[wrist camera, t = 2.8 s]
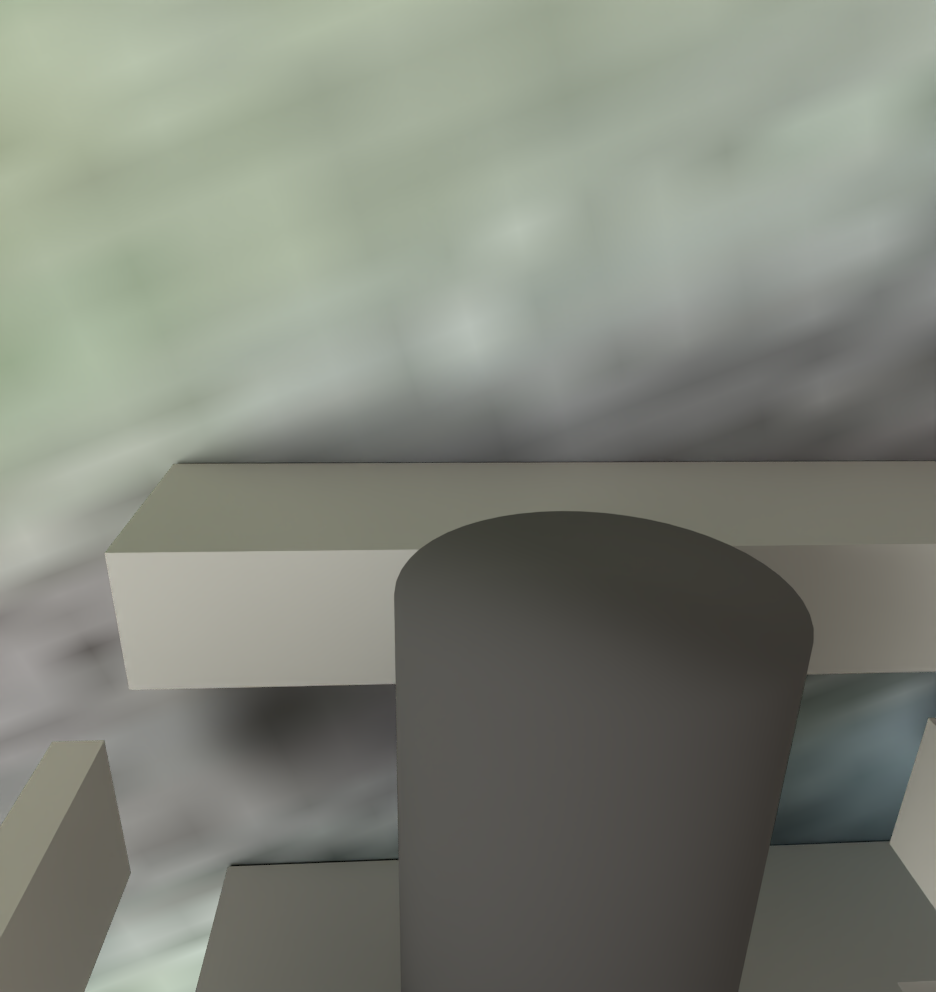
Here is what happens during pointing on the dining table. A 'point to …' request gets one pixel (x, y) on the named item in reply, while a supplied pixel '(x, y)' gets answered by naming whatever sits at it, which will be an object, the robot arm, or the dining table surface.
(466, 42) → the dining table surface
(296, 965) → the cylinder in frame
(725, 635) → the rod
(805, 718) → the dining table surface
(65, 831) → the robot arm
